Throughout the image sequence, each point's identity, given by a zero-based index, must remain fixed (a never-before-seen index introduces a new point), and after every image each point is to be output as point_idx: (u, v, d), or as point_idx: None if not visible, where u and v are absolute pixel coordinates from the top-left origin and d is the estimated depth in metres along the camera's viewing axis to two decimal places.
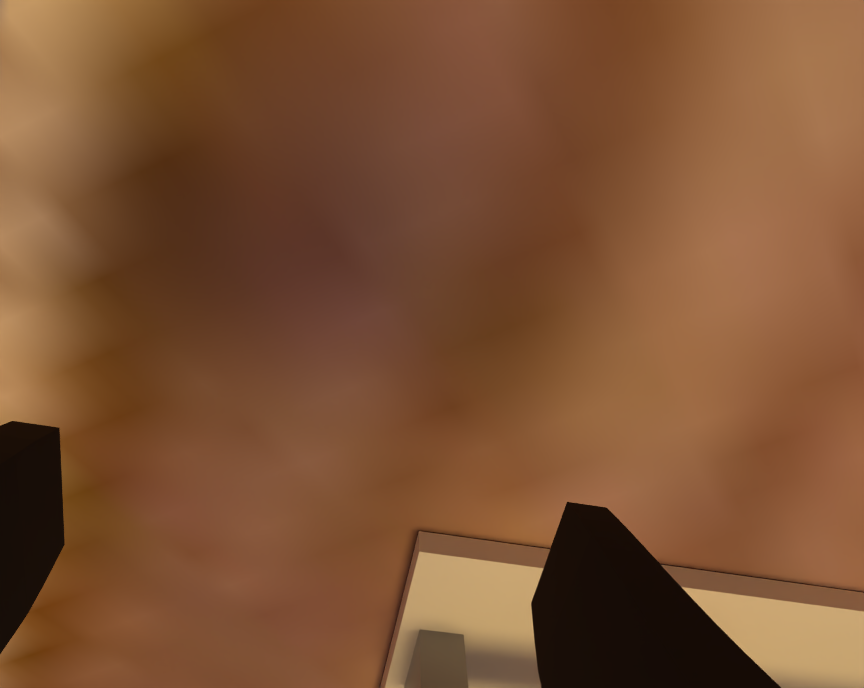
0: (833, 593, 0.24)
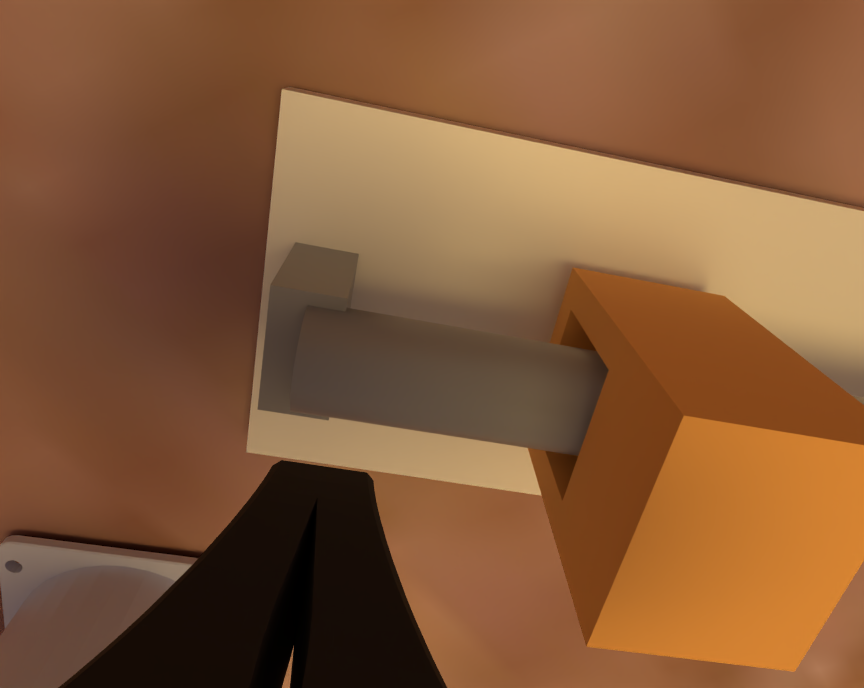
0: None
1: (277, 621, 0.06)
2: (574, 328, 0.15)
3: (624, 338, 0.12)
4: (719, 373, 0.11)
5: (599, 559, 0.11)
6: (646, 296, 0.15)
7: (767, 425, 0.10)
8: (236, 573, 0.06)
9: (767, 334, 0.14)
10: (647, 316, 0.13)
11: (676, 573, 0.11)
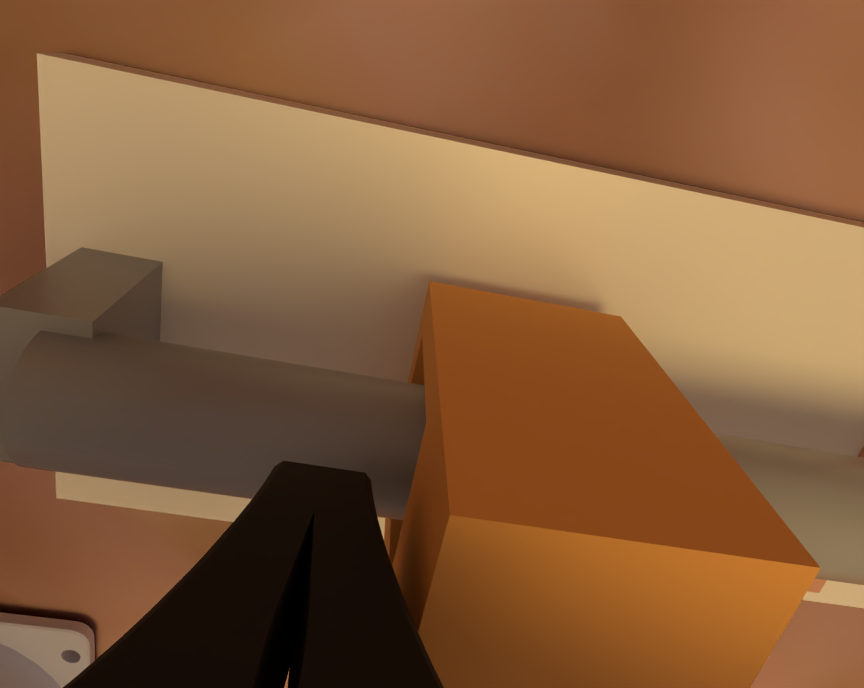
0: (808, 211, 0.14)
1: (280, 621, 0.06)
2: None
3: (437, 381, 0.09)
4: (551, 435, 0.08)
5: None
6: (509, 319, 0.12)
7: (581, 525, 0.07)
8: (239, 573, 0.06)
9: (654, 370, 0.11)
10: (493, 348, 0.10)
11: None
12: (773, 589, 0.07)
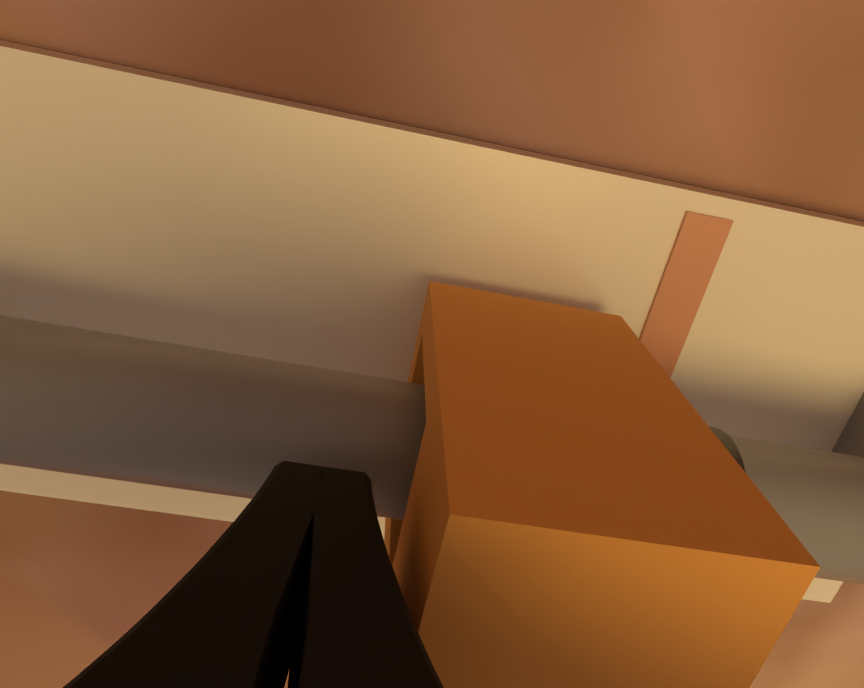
0: (522, 151, 0.13)
1: (280, 622, 0.06)
2: None
3: (437, 380, 0.09)
4: (551, 434, 0.08)
5: None
6: (509, 319, 0.12)
7: (582, 525, 0.07)
8: (239, 574, 0.06)
9: (654, 369, 0.11)
10: (493, 347, 0.10)
11: None
12: (773, 589, 0.07)
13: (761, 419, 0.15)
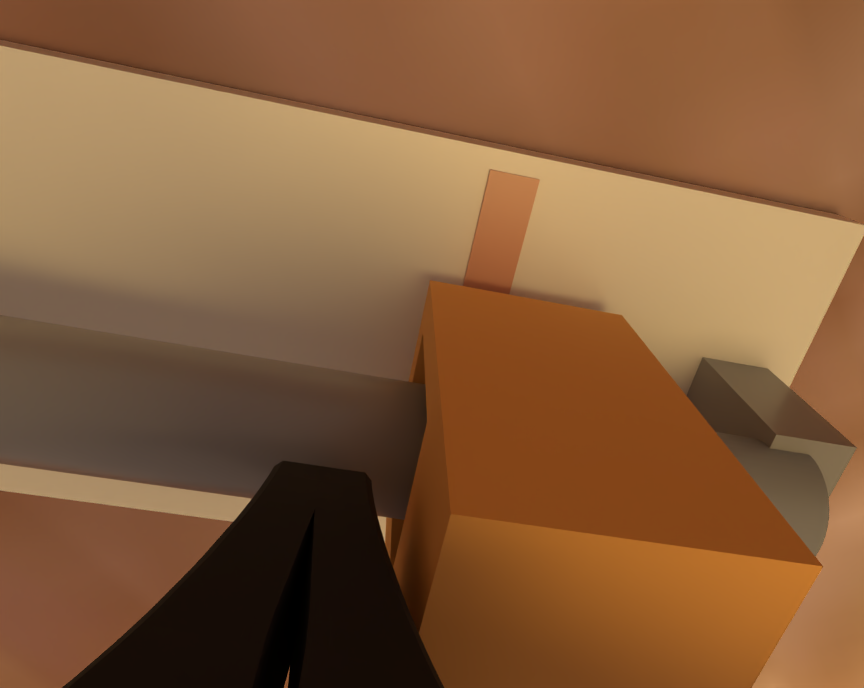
0: (321, 108, 0.13)
1: (280, 621, 0.06)
2: None
3: (438, 380, 0.09)
4: (552, 434, 0.08)
5: None
6: (510, 318, 0.12)
7: (583, 524, 0.07)
8: (239, 573, 0.06)
9: (655, 368, 0.11)
10: (493, 347, 0.10)
11: None
12: (774, 589, 0.07)
13: None
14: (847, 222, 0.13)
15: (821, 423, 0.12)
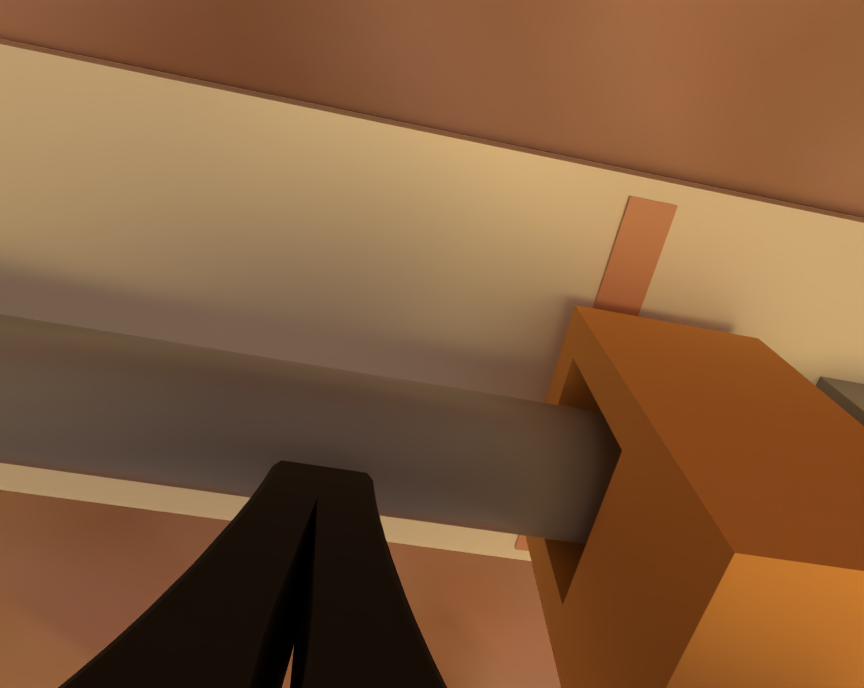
0: (463, 135, 0.13)
1: (277, 621, 0.06)
2: (577, 379, 0.13)
3: (642, 412, 0.09)
4: (771, 467, 0.08)
5: None
6: (666, 344, 0.12)
7: (850, 561, 0.07)
8: (236, 573, 0.06)
9: (819, 395, 0.11)
10: (670, 376, 0.11)
11: None
12: None
13: None
14: None
15: None
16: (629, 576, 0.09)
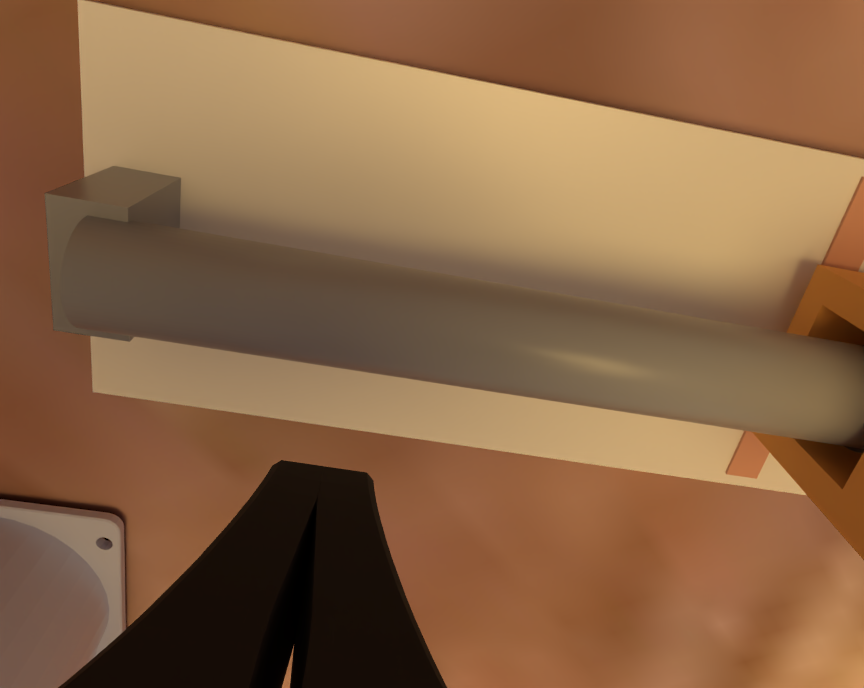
0: (727, 130, 0.16)
1: (277, 621, 0.06)
2: (822, 322, 0.16)
3: None
4: None
5: None
6: None
7: None
8: (236, 573, 0.06)
9: None
10: None
11: None
12: None
13: None
14: None
15: None
16: None
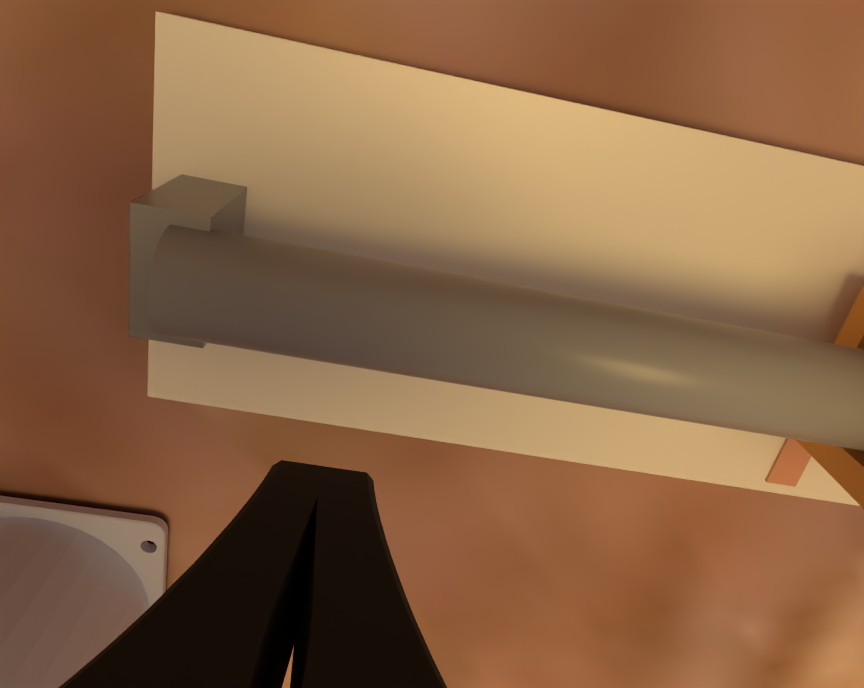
0: None
1: (277, 621, 0.06)
2: None
3: None
4: None
5: None
6: None
7: None
8: (236, 573, 0.06)
9: None
10: None
11: None
12: None
13: None
14: None
15: None
16: None
